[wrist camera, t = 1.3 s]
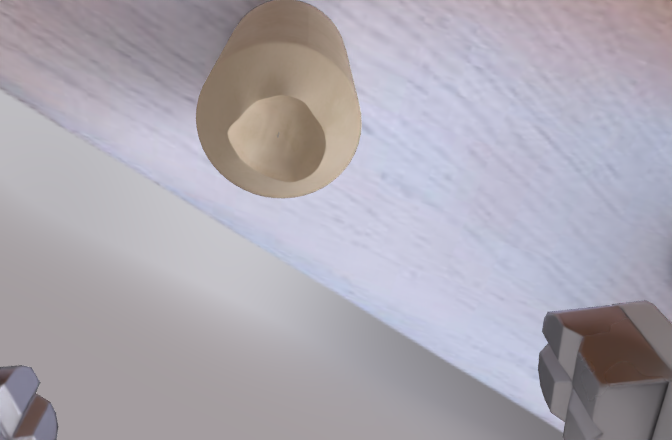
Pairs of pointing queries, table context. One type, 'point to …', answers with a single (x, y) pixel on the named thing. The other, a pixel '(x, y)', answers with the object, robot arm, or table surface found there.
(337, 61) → the candle
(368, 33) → the table surface
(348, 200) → the table surface
